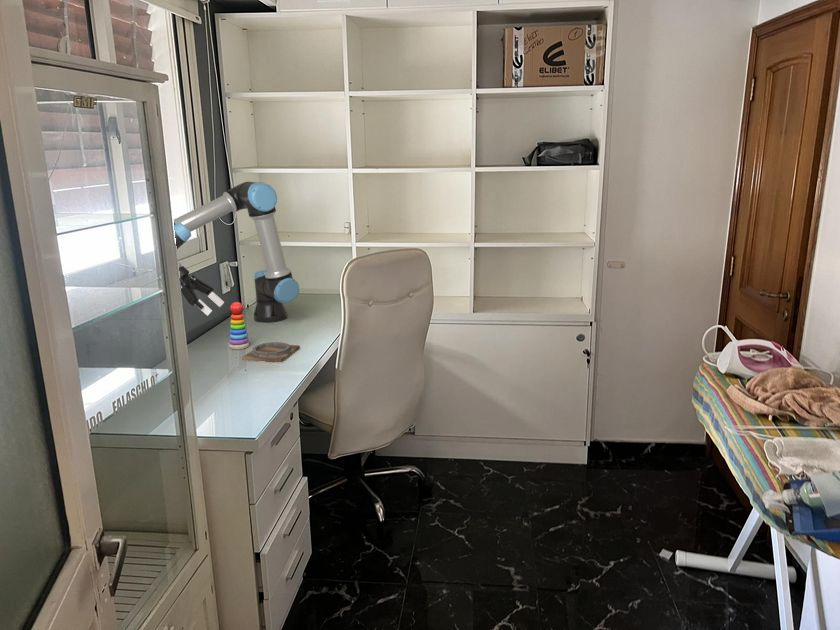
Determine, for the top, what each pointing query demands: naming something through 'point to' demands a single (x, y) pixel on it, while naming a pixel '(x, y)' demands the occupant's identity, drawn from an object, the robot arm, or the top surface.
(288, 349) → the collar board
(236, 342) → the stacking toy
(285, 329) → the top surface
